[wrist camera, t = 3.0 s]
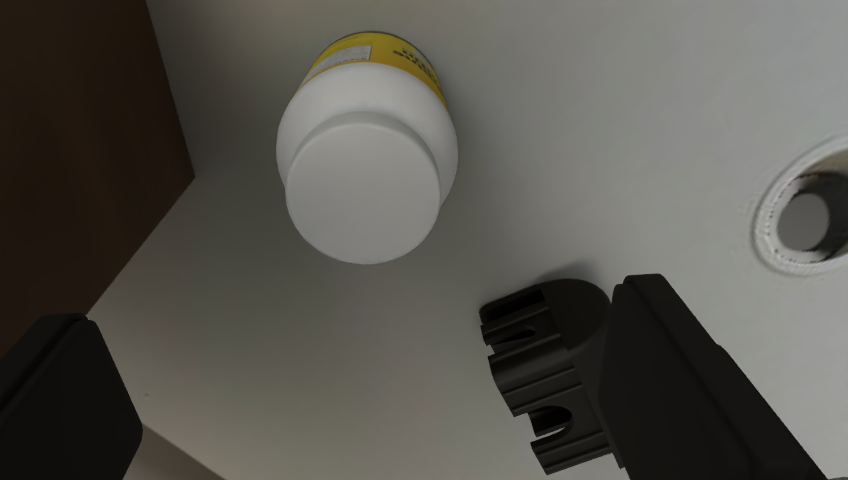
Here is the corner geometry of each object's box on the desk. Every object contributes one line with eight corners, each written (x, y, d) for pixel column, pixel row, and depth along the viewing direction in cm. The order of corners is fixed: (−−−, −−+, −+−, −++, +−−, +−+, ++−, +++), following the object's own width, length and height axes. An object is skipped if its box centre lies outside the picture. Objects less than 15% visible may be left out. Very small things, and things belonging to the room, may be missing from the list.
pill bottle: (442, 156, 28) (473, 283, 18) (317, 165, 28) (276, 298, 18) (437, 22, 24) (472, 84, 14) (295, 31, 24) (230, 100, 14)
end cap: (626, 369, 36) (673, 453, 30) (528, 405, 37) (554, 493, 31) (584, 256, 31) (629, 330, 25) (473, 302, 32) (491, 383, 27)
